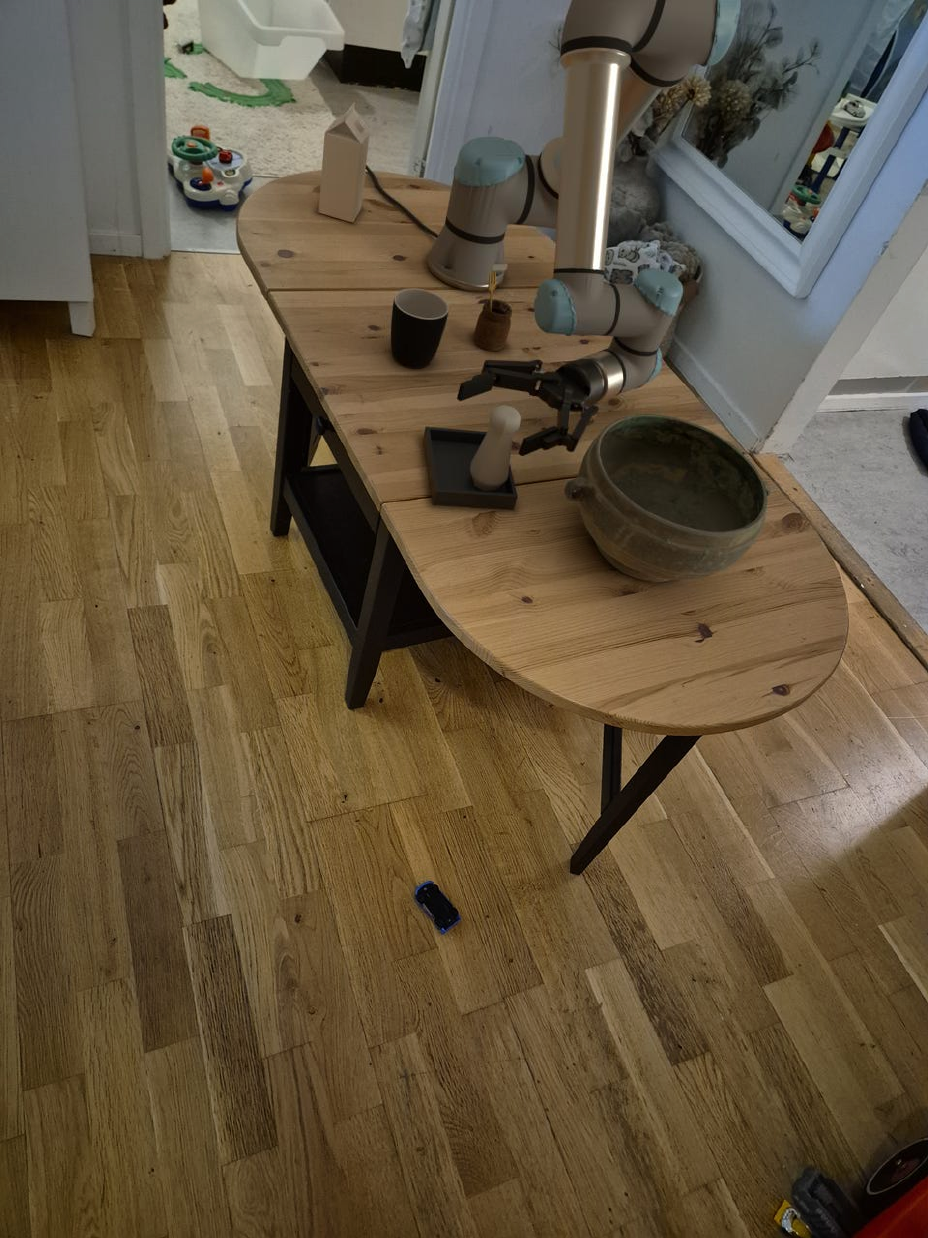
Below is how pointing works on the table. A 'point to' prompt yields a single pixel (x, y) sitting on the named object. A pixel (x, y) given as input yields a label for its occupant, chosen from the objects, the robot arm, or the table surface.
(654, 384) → the table surface
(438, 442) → the tray
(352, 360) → the table surface
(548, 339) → the table surface
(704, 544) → the bowl
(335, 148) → the milk carton
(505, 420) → the salt shaker
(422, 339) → the mug
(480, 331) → the utensil holder
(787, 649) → the table surface
